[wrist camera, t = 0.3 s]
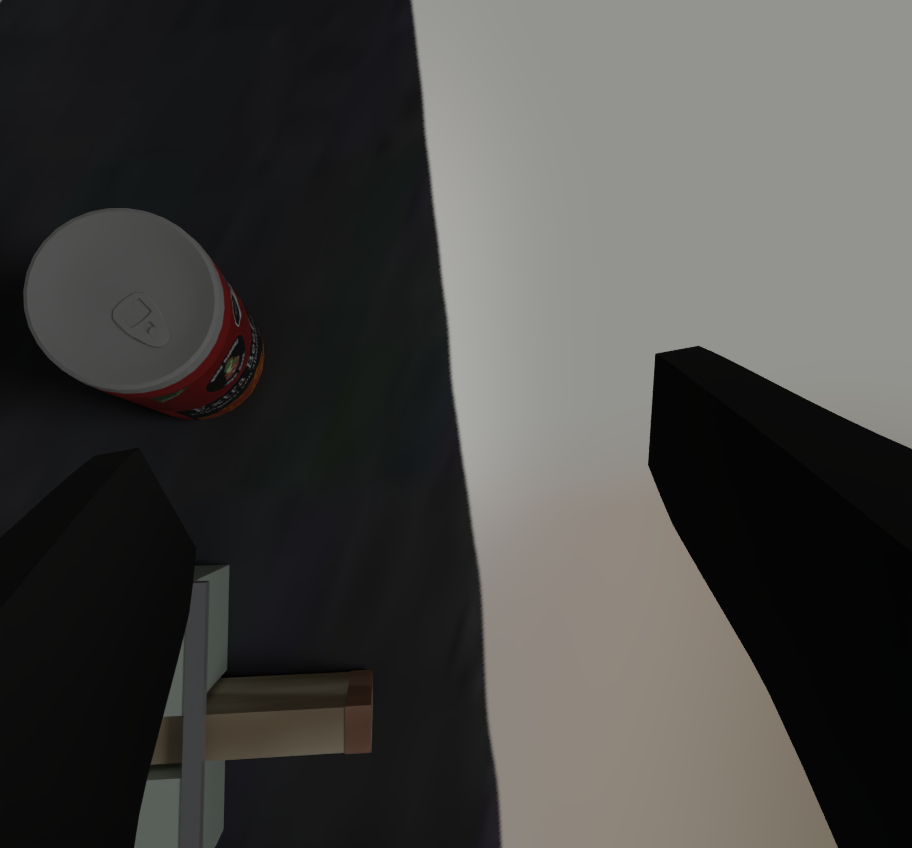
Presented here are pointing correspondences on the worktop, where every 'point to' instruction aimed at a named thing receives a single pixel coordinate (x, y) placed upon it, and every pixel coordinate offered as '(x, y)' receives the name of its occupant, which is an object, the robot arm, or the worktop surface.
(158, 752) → the brown-tipped cream rod
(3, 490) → the worktop surface
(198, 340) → the canned food
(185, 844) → the grey block
